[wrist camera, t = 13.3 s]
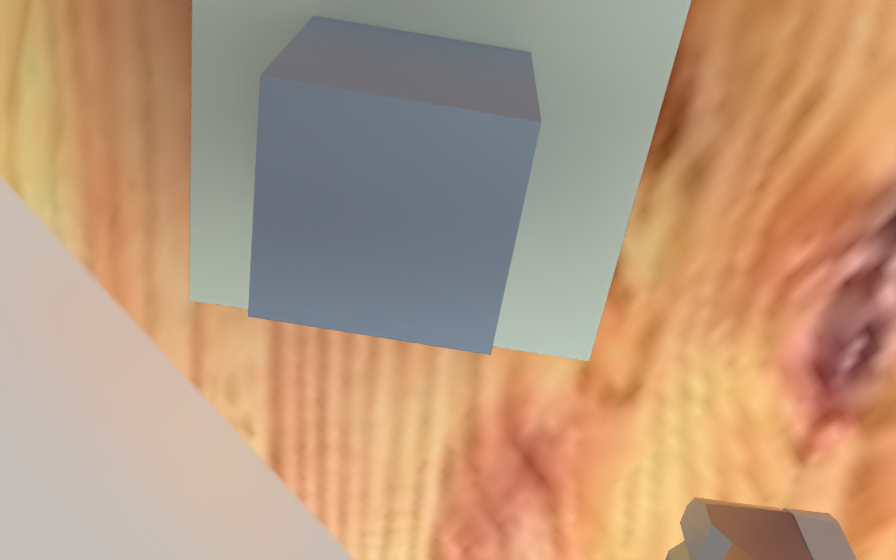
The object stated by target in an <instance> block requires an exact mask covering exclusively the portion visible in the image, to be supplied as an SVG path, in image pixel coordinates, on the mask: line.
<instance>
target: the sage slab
mask: <svg viewBox="0 0 896 560" xmlns="http://www.w3.org/2000/svg"><path fill="white" fill-rule="evenodd" d="M690 3H691V0H192V72H191V185H190V298H189V300H190V301H196V302H203V303H209V304H216V305H223V306H229V307H236V308H242V309H248V303H249V283H250V263H251V243H252V224H253V204H254V184H255V165H256V145H257V125H258V106H259V86H260V74H261V73H262V72H263V71H264V70H265V69H266V68H267V67H268V66H269V64H270V63H271V62H272V61H273V60H274V59H275V58H276V57H277V56H278V55H279V53H280V52H281V51H282V50H283V49H284V48H285V47H286V46H287V45H288V43H289V42H290V41H291V40H292V39H293V38H294V37H295V36H296V35H297V33H298V32H299V31H300V30H301V29H302V28H303V27H304V26H305V25H306V23H307V22H308V21H309V20H310V19H311V18H312V17H313V16H318V17H324V18H330V19H336V20H342V21H347V22H353V23H359V24H365V25H371V26H377V27H383V28H388V29H394V30H400V31H406V32H412V33H418V34H424V35H429V36H435V37H441V38H447V39H453V40H459V41H464V42H470V43H476V44H482V45H488V46H494V47H500V48H505V49H511V50H517V51H523V52H529V53H531V56H532V63H533V69H534V76H535V83H536V89H537V96H538V103H539V109H540V116H541V127H540V131H539V136H538V141H537V145H536V150H535V154H534V159H533V163H532V168H531V173H530V177H529V182H528V186H527V191H526V196H525V200H524V205H523V209H522V214H521V218H520V223H519V228H518V232H517V237H516V241H515V246H514V251H513V255H512V260H511V264H510V269H509V273H508V278H507V283H506V287H505V292H504V296H503V301H502V305H501V310H500V315H499V319H498V324H497V328H496V333H495V338H494V342H493V347H499V348H506V349H512V350H519V351H525V352H532V353H539V354H545V355H552V356H558V357H565V358H571V359H578V360H585V361H589V359H590V355H591V352H592V348H593V345H594V341H595V338H596V334H597V331H598V327H599V324H600V320H601V317H602V313H603V310H604V306H605V303H606V299H607V296H608V292H609V289H610V285H611V282H612V278H613V274H614V271H615V267H616V264H617V260H618V257H619V253H620V250H621V246H622V243H623V239H624V236H625V232H626V229H627V225H628V222H629V218H630V215H631V211H632V208H633V204H634V201H635V197H636V194H637V190H638V186H639V183H640V179H641V176H642V172H643V169H644V165H645V162H646V158H647V155H648V151H649V148H650V144H651V141H652V137H653V134H654V130H655V127H656V123H657V120H658V116H659V113H660V109H661V106H662V102H663V99H664V95H665V91H666V88H667V84H668V81H669V77H670V74H671V70H672V67H673V63H674V60H675V56H676V53H677V49H678V46H679V42H680V39H681V35H682V32H683V28H684V25H685V21H686V18H687V14H688V11H689V7H690Z"/></svg>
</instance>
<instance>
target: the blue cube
mask: <svg viewBox="0 0 896 560" xmlns="http://www.w3.org/2000/svg"><path fill="white" fill-rule="evenodd" d="M540 127H541V116H540V109H539V103H538V96H537V89H536V83H535V76H534V69H533V63H532V56H531V53H529V52H523V51H517V50H511V49H505V48H500V47H494V46H488V45H482V44H476V43H470V42H464V41H459V40H453V39H447V38H441V37H435V36H429V35H424V34H418V33H412V32H406V31H400V30H394V29H388V28H383V27H377V26H371V25H365V24H359V23H353V22H347V21H342V20H336V19H330V18H324V17H318V16H313V17H312V18H311V19H310V20H309V21H308V22H307V23H306V25H305V26H304V27H303V28H302V29H301V30H300V31H299V32H298V33H297V35H296V36H295V37H294V38H293V39H292V40H291V41H290V42H289V43H288V45H287V46H286V47H285V48H284V49H283V50H282V51H281V52H280V53H279V55H278V56H277V57H276V58H275V59H274V60H273V61H272V62H271V63H270V64H269V66H268V67H267V68H266V69H265V70H264V71H263V72H262V73H261V74H260V86H259V106H258V125H257V145H256V165H255V184H254V204H253V224H252V243H251V263H250V283H249V303H248V316H249V317H255V318H261V319H268V320H274V321H280V322H287V323H293V324H299V325H306V326H312V327H318V328H324V329H331V330H337V331H343V332H350V333H356V334H362V335H368V336H375V337H381V338H387V339H394V340H400V341H406V342H413V343H419V344H425V345H431V346H438V347H444V348H450V349H457V350H463V351H469V352H475V353H482V354H488V355H491V351H492V347H493V342H494V338H495V333H496V328H497V324H498V319H499V315H500V310H501V305H502V301H503V296H504V292H505V287H506V283H507V278H508V273H509V269H510V264H511V260H512V255H513V251H514V246H515V241H516V237H517V232H518V228H519V223H520V218H521V214H522V209H523V205H524V200H525V196H526V191H527V186H528V182H529V177H530V173H531V168H532V163H533V159H534V154H535V150H536V145H537V141H538V136H539V131H540Z"/></svg>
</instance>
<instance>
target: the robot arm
mask: <svg viewBox="0 0 896 560" xmlns="http://www.w3.org/2000/svg"><path fill="white" fill-rule="evenodd" d="M680 524H681V528H682V531H683V535H684V539H685V541H683V542H682V543H680V544H679V545H677V546H675V547H674V548H672V549H671V550H669V551H668V554H667V557H666V560H857V558H856V556H855V554H854V552H853V551H852V549H851V547H850V545H849V543H848V541H847V539H846V537H845V535H844V533H843V531H842V529H841V527H840V525H839V523H838V521H837V520H836V519H834V518H833V517H832V516H831V515H830V514H828V513H820V512H811V511H803V510H795V509H786V508H784V509H779V508H773V507H765V506H758V505H750V504H742V503H735V502H727V501H719V500H712V499H704V498H696V497H695V498H694V499H693V500H692V501H691V502H690V503H689V504H688V505H687V507H686V510H685V512H684V514H683V517H682V519H681V522H680Z"/></svg>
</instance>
